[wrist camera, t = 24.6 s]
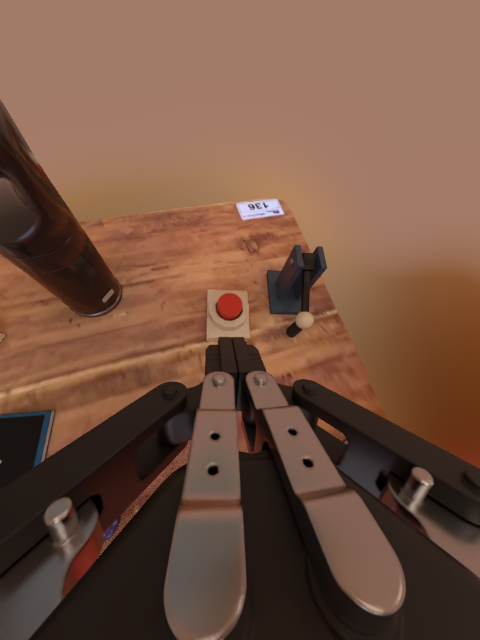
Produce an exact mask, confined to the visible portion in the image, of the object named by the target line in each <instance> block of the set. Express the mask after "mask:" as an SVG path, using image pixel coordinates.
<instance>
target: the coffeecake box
mask: <svg viewBox="0 0 480 640" xmlns="http://www.w3.org/2000/svg"><path fill="white" fill-rule="evenodd" d="M5 336H6V335H5V334H3V333H1V332H0V342H1V341H2V340H3V339H4V337H5Z"/></svg>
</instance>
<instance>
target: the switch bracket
mask: <svg viewBox="0 0 480 640" xmlns="http://www.w3.org/2000/svg"><path fill="white" fill-rule="evenodd" d="M313 253H316V265H315V270H314V271H311V272H310V288H311V287H312V286H313V284H314V283H315V282H316V281H317V279H318V278H319V277H320V276H321V275H322V273H323V272H324V271H325V270H326V269H327V266H326V261H325V256H324V252H323V247H317V248H316V249H315V251H314V252H313ZM303 267H304V263H303V258H302V252H301V246H300V245H295V246H294V248H293V250H292V252H291V254H290V256H289V257H288V259H287V261H286V263H285V265H284V267H283V269H282V271H271V270H268V271H267V283H268V293H269V304H270V314H298V313H299V312H301V293H302V272H301V270H302V269H303Z"/></svg>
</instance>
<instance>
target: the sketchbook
mask: <svg viewBox="0 0 480 640" xmlns="http://www.w3.org/2000/svg"><path fill="white" fill-rule="evenodd" d="M54 414H55V411H44V412H31V413H18V414H6V415H0V489H1V488H3V487H5V486H6V485H8V484H9V483H11V482H12V481H14V480H15V479H17V478H18V477H20V476H21V475H23V474H24V473H26V472H27V471H29V470H31V469H32V468H34V467H35V466H37V465H38V464H40V463H41V462H43V461H44V460H45V458H46V453H47V448H48V443H49V439H50V434H51V429H52V424H53V419H54Z"/></svg>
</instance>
